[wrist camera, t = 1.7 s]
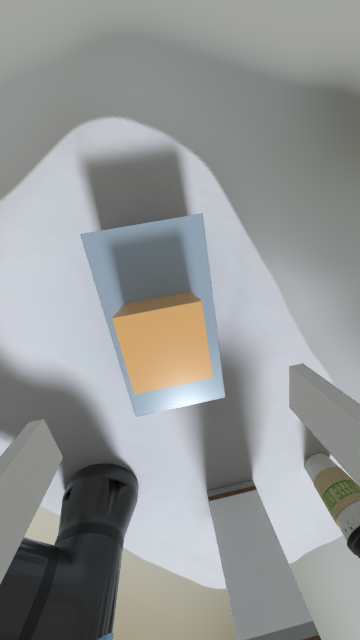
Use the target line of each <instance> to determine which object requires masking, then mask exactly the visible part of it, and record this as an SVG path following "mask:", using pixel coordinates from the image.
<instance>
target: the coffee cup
mask: <svg viewBox="0 0 360 640" xmlns="http://www.w3.org/2000/svg"><path fill="white" fill-rule="evenodd" d="M304 467H305V469H306V471H307V473H308V475H309V476H310V478H311V480H312V481H313V483H314V486H315V488H316V490H317V491H318V493H319V495H320V497H321V498H322V500H323V502H324V504H325V505H326V507H327V509H328V510H329V512H330V514H331V516H332V517H333V519H334V521H335V523H336V524H337V526H338V527H339V528H340V529H341V531H342V533H343V535H344V536H345V538H346V540H347V546H348V548H349V549H350V550H351V551H352V552H353V553H354V554H355V555H357V556H358V557H359V558H360V486H359V485H358V484H356V483H355V482H354V481H353V480H352V479H351V478H350V477H349V476H348V475H347V474H346V473H345V472H344V471H343V470H342V469H341V468H339V467H338V466H337V465H336V464H335V463H334V462H333V461H332V460H331V459H330V458H329V457H328V456H327V455H325V454H323V453H317V454H314V455H312V456H310V457H309V458H308V459H307V460H306V462H305V464H304Z"/></svg>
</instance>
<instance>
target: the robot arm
mask: <svg viewBox="0 0 360 640" xmlns="http://www.w3.org/2000/svg"><path fill="white" fill-rule="evenodd" d="M289 407H290V409H291V410H292V411H293V412H294V413H295V414H296V415H297V416H298V418H299V419H300V420H301V421H302V422H303V423H304V424H305V425H306V427H307V428H308V429H309V430H310V431H311V432H312V433H313V434H314V436H315V437H316V438H317V439H318V440H319V441H320V442H321V443H322V445H323V446H324V447H325V448H326V449H327V450H328V451H329V453H330V454H331V455H332V456H333V457H334V458H335V459H336V460H337V462H338V463H339V464H340V465H341V466H342V467H343V468H344V469H345V471H346V472H347V473H348V474H349V475H350V476H351V477H352V478H353V480H354V481H355V482H356V483H357V484H358V485H359V486H360V404H359V403H357V402H356V401H355V400H353V399H352V398H350V397H349V396H348V395H346V394H345V393H343V392H342V391H341V390H339V389H338V388H336V387H335V386H334V385H332V384H331V383H329V382H328V381H327V380H325V379H324V378H322V377H321V376H320V375H318V374H317V373H315V372H314V371H313V370H311V369H310V368H308V367H307V366H306V365H304V364H299V365H294V366H289ZM62 459H63V456H62V454H61V452H60V450H59V448H58V446H57V444H56V442H55V440H54V438H53V436H52V434H51V432H50V430H49V428H48V426H47V424H46V422H45V420H44V419H41V420H36V421H32V422H28V424H27V425H26V426H25V427H24V428H23V430H22V431H21V432H20V433H19V435H18V436H17V437H16V438H15V439H14V441H13V442H12V443H11V444H10V446H9V447H8V448H7V449H6V450H5V452H4V453H3V454H2V455H1V456H0V640H112V639H113V633H112V630H113V623H114V614H115V606H116V599H117V591H118V583H119V575H120V566H121V558H122V549H123V543H124V537H125V534H126V531H127V528H128V525H129V523H130V520H131V517H132V514H133V512H134V509H135V506H136V503H137V498H138V482H137V480H136V478H135V477H134V475H133V474H132V473H130V472H129V471H128V470H126V469H124V468H122V467H119V466H115V465H108V464H101V465H94V466H90V467H87V468H84V469H82V470H80V471H79V472H77V473H76V474H75V475H74V476H73V477H72V478H71V479H70V481H69V483H68V485H67V488H66V490H65V493H64V496H63V501H62V509H61V517H60V526H59V533H58V536H57V540H56V542H55V545H54V546H53V545H50V544H46V543H43V542H38V541H34V540H31V539H28V538H25V537H24V536H25V534H26V531H27V529H28V527H29V525H30V523H31V521H32V519H33V517H34V515H35V513H36V511H37V509H38V507H39V505H40V503H41V501H42V499H43V497H44V495H45V493H46V491H47V489H48V487H49V485H50V483H51V481H52V479H53V477H54V475H55V473H56V471H57V469H58V467H59V465H60V463H61V461H62Z"/></svg>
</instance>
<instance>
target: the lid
mask: <svg viewBox="0 0 360 640" xmlns="http://www.w3.org/2000/svg"><path fill="white" fill-rule="evenodd" d="M80 235H81V239H82V242H83V245H84V248H85V252H86V255H87V258H88V262H89V265H90V268H91V271H92V275H93V278H94V281H95V285H96V288H97V291H98V294H99V298H100V301H101V304H102V308H103V311H104V314H105V318H106V321H107V324H108V327H109V331H110V334H111V337H112V341H113V344H114V347H115V350H116V354H117V357H118V360H119V364H120V367H121V370H122V373H123V377H124V380H125V383H126V387H127V390H128V393H129V396H130V400H131V403H132V406H133V410H134V413H135V416H136V417H138V416H143V415H147V414H152V413H156V412H161V411H165V410H170V409H175V408H179V407H184V406H188V405H193V404H197V403H202V402H207V401H211V400H216V399H220V398H225V392H224V384H223V376H222V367H221V359H220V351H219V343H218V335H217V326H216V318H215V310H214V302H213V294H212V286H211V277H210V269H209V261H208V253H207V245H206V237H205V228H204V220H203V213H201V214H195V215H189V216H183V217H178V218H172V219H166V220H160V221H154V222H148V223H143V224H137V225H131V226H125V227H119V228H113V229H107V230H102V231H96V232H90V233H84V234H80Z"/></svg>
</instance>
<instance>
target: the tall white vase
mask: <svg viewBox="0 0 360 640" xmlns="http://www.w3.org/2000/svg"><path fill="white" fill-rule="evenodd" d="M207 494H208V499H209V504H210V509H211V515H212V520H213V525H214V530H215V534H216V539H217V544H218V549H219V554H220V559H221V563H222V568H223V573H224V578H225V583H226V588H227V592H228V597H229V602H230V607H231V612H232V617H233V622H234V626H235V631H236V636H237V640H321V638H320V636H319V634H318V632H317V629H316V627H315V624H314V622H313V620H312V617H311V615H310V613H309V611H308V608H307V606H306V604H305V601H304V599H303V597H302V594H301V592H300V589H299V587H298V585H297V582H296V580H295V578H294V575H293V573H292V571H291V568H290V566H289V564H288V561H287V559H286V557H285V554H284V552H283V550H282V547H281V545H280V543H279V540H278V538H277V536H276V533H275V531H274V529H273V526H272V524H271V522H270V519H269V517H268V515H267V512H266V510H265V508H264V505H263V503H262V501H261V498H260V496H259V494H258V491H257V489H256V487H255V484H254V482H253V480H251V481H247V482H243V483H239V484H235V485H231V486H226V487H222V488H218V489H214V490H210V491H207Z"/></svg>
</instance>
